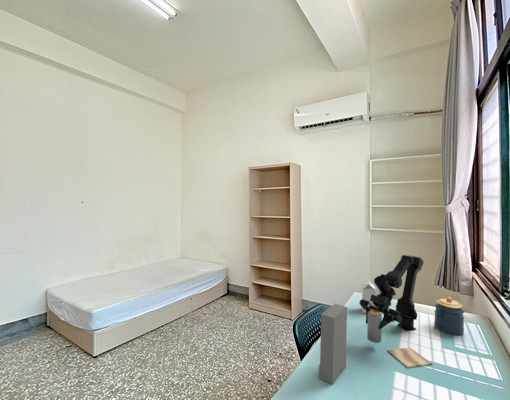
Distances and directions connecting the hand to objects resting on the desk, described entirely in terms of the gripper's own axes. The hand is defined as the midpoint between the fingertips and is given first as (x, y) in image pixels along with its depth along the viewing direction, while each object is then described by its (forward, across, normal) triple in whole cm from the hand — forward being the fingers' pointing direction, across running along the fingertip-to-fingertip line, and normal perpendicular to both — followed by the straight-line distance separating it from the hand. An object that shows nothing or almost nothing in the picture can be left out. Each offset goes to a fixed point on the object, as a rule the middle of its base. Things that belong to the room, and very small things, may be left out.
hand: (372, 326), depth 123 cm
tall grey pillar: (+28, 0, -14) cm, 31 cm away
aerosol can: (-27, -21, +43) cm, 55 cm away
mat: (+3, +13, +12) cm, 18 cm away
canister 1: (+4, 0, +6) cm, 7 cm away
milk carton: (-18, -23, +34) cm, 45 cm away
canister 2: (-28, +14, +44) cm, 54 cm away
